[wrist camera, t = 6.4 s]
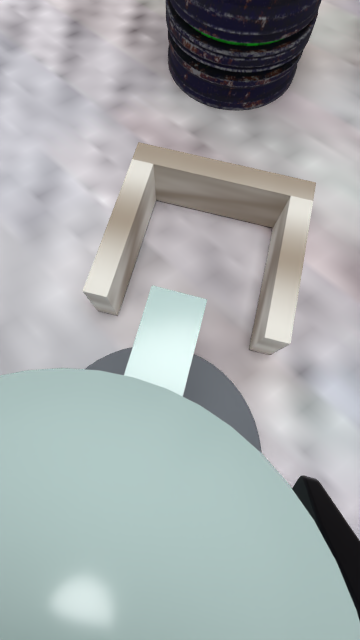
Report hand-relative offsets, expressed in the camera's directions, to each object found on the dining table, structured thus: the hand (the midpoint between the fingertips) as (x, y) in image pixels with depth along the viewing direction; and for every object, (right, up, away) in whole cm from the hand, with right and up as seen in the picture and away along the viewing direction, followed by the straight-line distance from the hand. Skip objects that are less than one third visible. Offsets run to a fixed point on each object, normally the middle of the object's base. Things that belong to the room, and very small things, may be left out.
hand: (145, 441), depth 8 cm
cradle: (+2, +7, +10) cm, 12 cm away
